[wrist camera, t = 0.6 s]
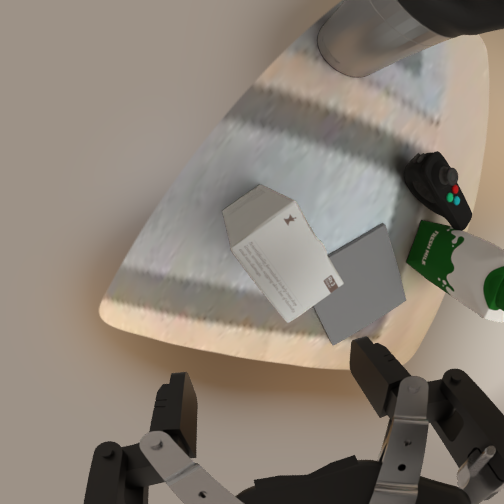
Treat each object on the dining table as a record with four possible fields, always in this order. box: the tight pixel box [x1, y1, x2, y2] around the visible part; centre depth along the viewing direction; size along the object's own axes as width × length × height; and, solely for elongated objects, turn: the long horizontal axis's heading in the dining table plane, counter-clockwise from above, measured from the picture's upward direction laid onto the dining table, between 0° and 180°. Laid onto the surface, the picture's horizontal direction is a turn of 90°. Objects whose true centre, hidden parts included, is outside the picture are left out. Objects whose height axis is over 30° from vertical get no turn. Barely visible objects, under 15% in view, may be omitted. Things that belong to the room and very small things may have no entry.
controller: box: [404, 151, 472, 231], centre depth 30 cm, size 4×12×10 cm, turn 50°
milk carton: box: [406, 220, 504, 323], centre depth 28 cm, size 9×9×20 cm
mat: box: [313, 223, 406, 345], centre depth 38 cm, size 14×14×1 cm
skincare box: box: [222, 185, 344, 323], centre depth 27 cm, size 8×6×15 cm
